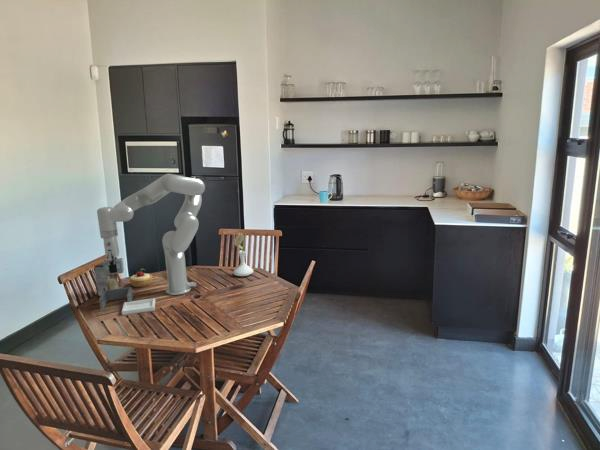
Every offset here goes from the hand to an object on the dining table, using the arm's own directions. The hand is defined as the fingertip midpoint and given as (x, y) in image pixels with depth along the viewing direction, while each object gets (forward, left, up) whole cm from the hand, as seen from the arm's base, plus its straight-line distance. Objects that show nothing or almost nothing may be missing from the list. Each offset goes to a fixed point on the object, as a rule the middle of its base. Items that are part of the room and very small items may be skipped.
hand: (114, 270), depth 212 cm
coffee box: (+7, -21, -17) cm, 28 cm away
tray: (-10, +9, -17) cm, 22 cm away
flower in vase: (-64, -22, -17) cm, 70 cm away
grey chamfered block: (0, 0, -1) cm, 1 cm away
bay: (+1, -3, -17) cm, 18 cm away
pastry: (-9, -27, -18) cm, 34 cm away
